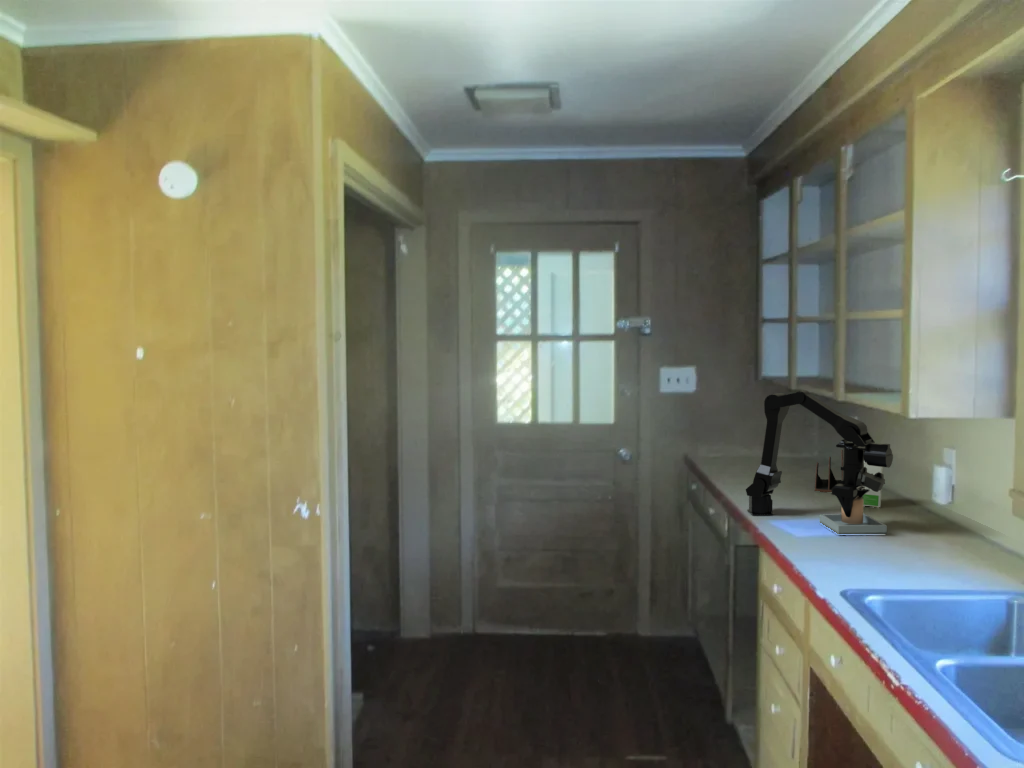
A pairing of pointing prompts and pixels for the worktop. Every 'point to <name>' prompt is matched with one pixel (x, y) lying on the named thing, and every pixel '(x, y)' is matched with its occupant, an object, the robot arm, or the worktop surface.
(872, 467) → the skincare box
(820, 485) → the letter holder
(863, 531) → the tray
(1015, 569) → the worktop surface
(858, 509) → the terracotta cup
